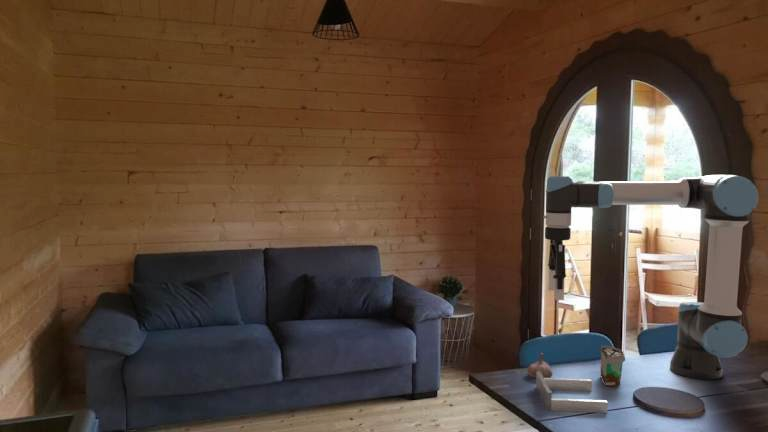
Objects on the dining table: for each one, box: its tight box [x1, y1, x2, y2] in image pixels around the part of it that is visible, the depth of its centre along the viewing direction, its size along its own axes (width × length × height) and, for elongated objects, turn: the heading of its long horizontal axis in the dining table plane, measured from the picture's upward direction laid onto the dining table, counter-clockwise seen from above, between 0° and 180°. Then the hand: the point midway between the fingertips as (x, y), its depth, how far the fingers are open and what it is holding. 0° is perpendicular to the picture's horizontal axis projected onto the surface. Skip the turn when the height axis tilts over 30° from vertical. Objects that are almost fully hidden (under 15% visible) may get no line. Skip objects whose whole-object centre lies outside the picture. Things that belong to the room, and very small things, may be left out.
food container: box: [600, 345, 626, 388], centre depth 185 cm, size 12×6×10 cm, turn 168°
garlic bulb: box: [527, 352, 553, 379], centre depth 190 cm, size 8×7×8 cm
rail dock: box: [535, 371, 609, 414], centre depth 171 cm, size 16×17×5 cm
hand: (555, 295), depth 184 cm, fingers open, 13 cm apart
